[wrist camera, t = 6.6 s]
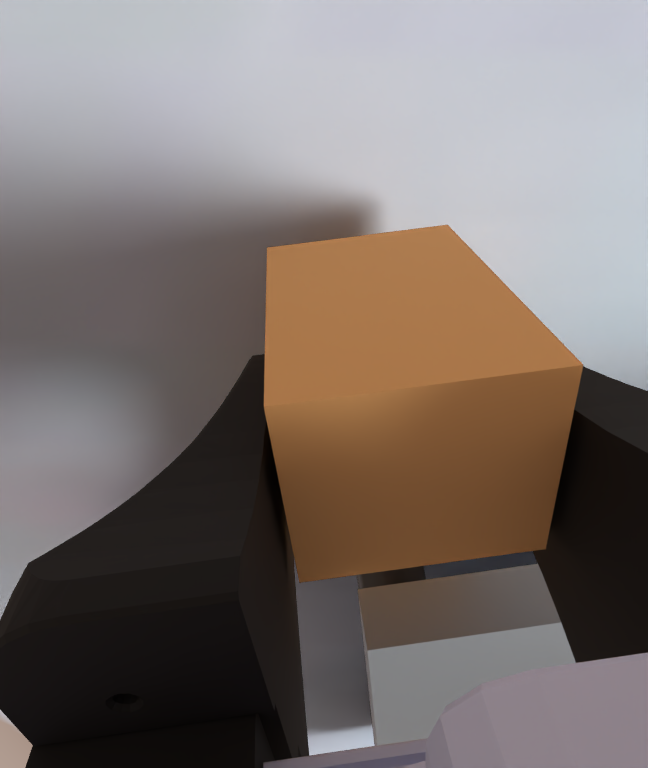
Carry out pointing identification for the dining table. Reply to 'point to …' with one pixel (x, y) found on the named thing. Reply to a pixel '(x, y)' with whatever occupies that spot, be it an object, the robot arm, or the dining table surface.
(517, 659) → the toy platform cart
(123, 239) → the dining table surface
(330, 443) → the orange block
